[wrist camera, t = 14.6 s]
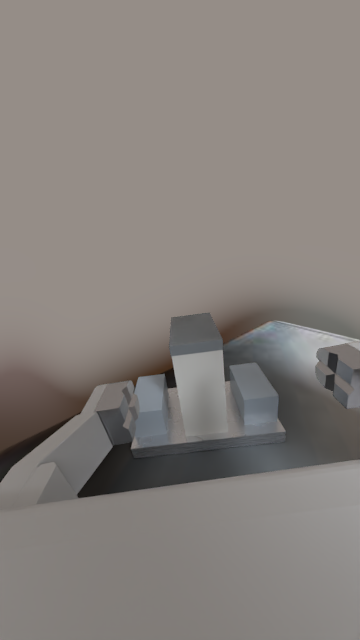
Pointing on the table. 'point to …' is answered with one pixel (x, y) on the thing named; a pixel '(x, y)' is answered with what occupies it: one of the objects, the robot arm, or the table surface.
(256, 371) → the mounted modules
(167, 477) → the table surface
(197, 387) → the block
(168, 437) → the grey flat base plate
